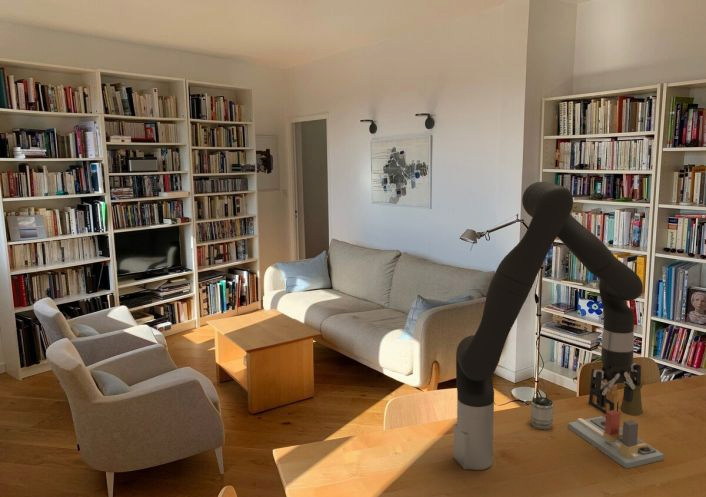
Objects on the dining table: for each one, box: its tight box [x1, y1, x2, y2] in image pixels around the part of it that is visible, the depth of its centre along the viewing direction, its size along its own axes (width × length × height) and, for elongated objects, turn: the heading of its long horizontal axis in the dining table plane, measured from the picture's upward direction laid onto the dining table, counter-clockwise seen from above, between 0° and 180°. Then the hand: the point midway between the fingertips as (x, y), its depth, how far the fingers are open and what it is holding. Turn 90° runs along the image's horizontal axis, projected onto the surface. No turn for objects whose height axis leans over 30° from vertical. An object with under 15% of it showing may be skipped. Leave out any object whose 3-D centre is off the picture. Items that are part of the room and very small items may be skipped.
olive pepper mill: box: [619, 377, 644, 416], centre depth 165 cm, size 6×6×11 cm
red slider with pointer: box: [603, 410, 623, 442], centre depth 145 cm, size 7×3×8 cm, turn 107°
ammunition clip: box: [588, 380, 619, 416], centre depth 165 cm, size 11×2×12 cm, turn 16°
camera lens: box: [530, 396, 555, 430], centre depth 158 cm, size 6×6×8 cm
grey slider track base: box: [567, 415, 665, 470], centre depth 147 cm, size 12×22×10 cm, turn 17°
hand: (614, 403), depth 143 cm, fingers open, 8 cm apart
